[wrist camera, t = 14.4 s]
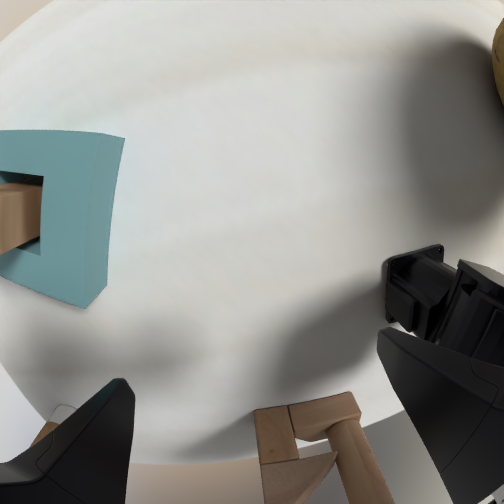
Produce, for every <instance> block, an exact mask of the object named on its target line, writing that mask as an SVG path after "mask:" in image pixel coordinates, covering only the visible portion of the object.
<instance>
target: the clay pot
mask: <svg viewBox="0 0 504 504" xmlns="http://www.w3.org/2000/svg"><path fill="white" fill-rule="evenodd" d="M492 66H493V71H494V77H495V82H496V87H497V90H498V93H499V96H500V98H501V101H502V104H503V106H504V18H503V20H502V22H501V23H500V25H499V26H498V28H497V29H496V33H495V36H494V39H493V45H492Z"/></svg>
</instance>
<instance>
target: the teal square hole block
mask: <svg viewBox="0 0 504 504" xmlns="http://www.w3.org/2000/svg"><path fill="white" fill-rule="evenodd" d="M124 141H125V138H121V137H116V136H112V135H107V134H103V133H94V132H80V131H62V130H1V131H0V185H2V184H7V183H12V182H18V181H24V173H25V174H32V175H39V176H44V180H43V190H42V203H41V224H40V236H37V237H35V238H33V239H31V240H29V241H27V242H25V243H23V244H21V245H19V246H17V247H15V248H13V249H11V250H9V251H7V252H5V253H4V254H2V255H0V276H2V277H4V278H6V279H9V280H11V281H13V282H16V283H18V284H20V285H23V286H25V287H27V288H30V289H32V290H35V291H37V292H40V293H42V294H45V295H48V296H50V297H53V298H56V299H58V300H61V301H64V302H67V303H70V304H72V305H75V306H78V307H81V308H84V309H86V308H87V307H88V306H89V304H90V303H91V302H92V301H93V300H94V299H95V298H96V297H97V296H98V294H99V293H100V292H101V291H102V290H103V289H104V288H105V287H106V286H107V266H108V249H109V236H110V226H111V217H112V208H113V201H114V194H115V187H116V181H117V175H118V170H119V164H120V159H121V154H122V150H123V145H124Z"/></svg>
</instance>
